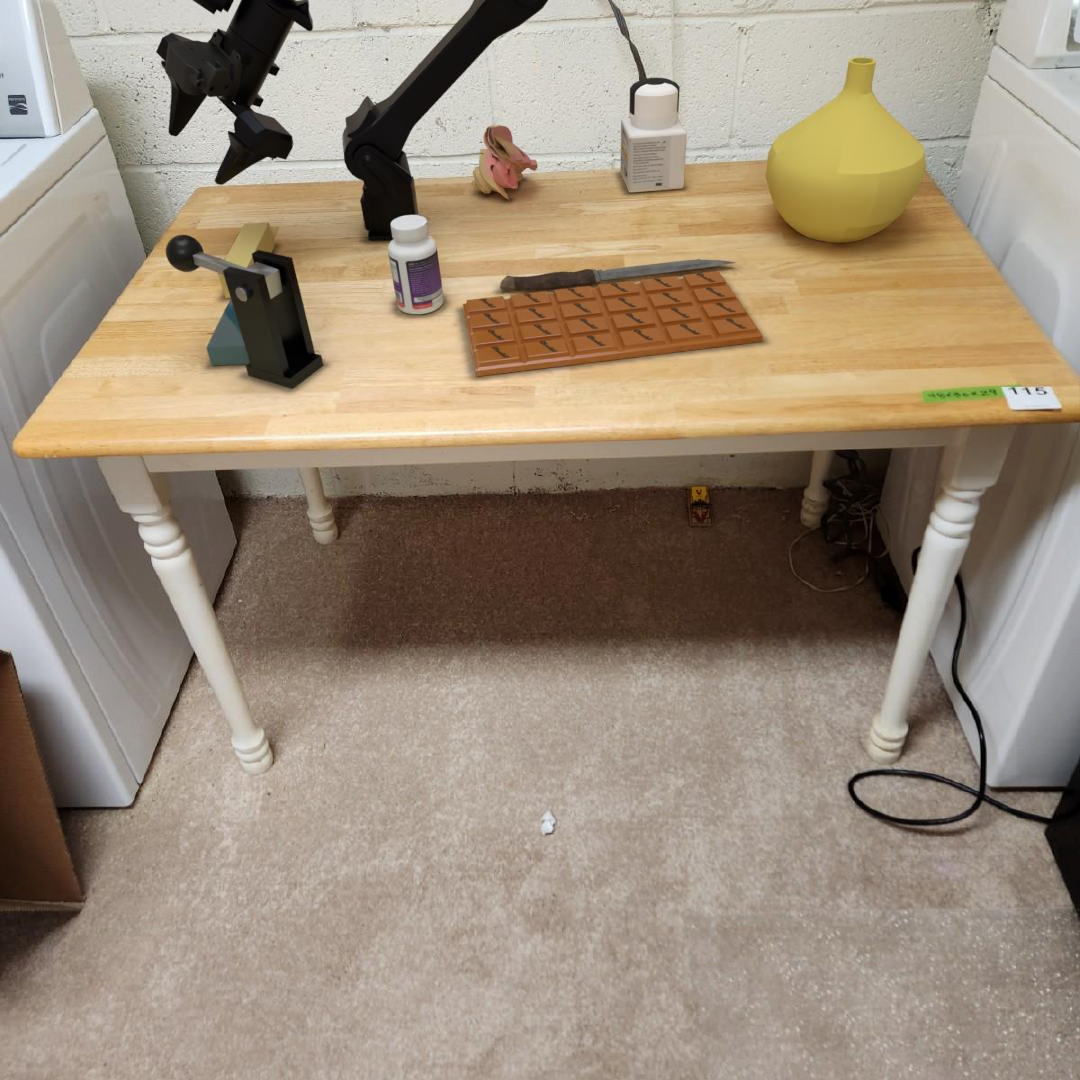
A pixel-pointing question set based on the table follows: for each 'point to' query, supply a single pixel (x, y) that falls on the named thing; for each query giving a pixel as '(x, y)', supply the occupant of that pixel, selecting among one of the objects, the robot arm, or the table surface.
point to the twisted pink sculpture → (500, 162)
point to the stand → (273, 323)
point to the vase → (845, 165)
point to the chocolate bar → (605, 323)
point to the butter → (248, 247)
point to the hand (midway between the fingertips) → (195, 159)
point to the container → (653, 137)
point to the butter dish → (227, 341)
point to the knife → (599, 275)
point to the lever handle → (214, 262)
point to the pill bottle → (415, 266)
